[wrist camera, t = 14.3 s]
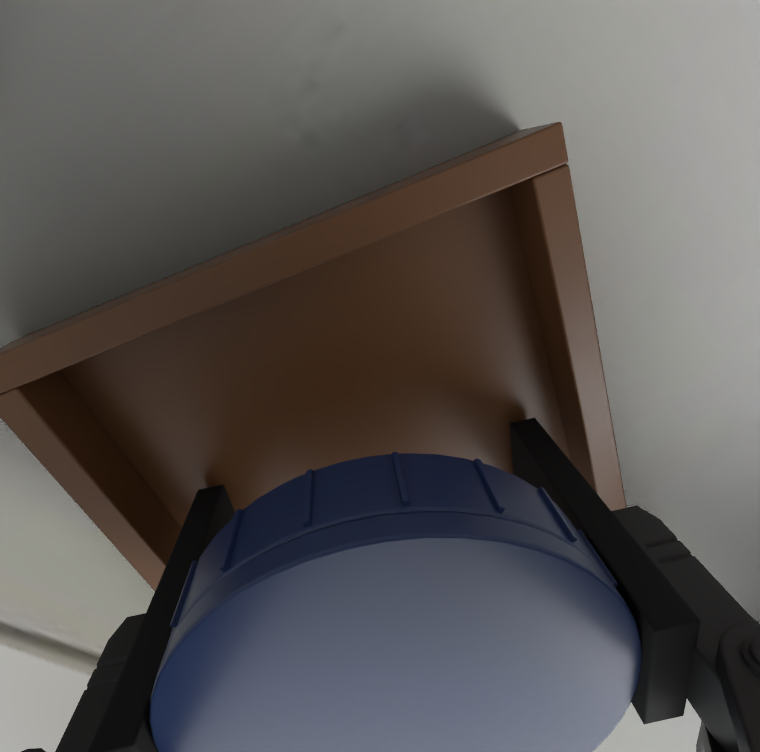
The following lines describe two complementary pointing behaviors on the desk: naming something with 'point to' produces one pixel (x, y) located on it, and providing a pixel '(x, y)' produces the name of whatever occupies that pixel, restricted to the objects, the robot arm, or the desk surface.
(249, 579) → the jar lid
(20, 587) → the desk surface
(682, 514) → the desk surface
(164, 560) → the tray
